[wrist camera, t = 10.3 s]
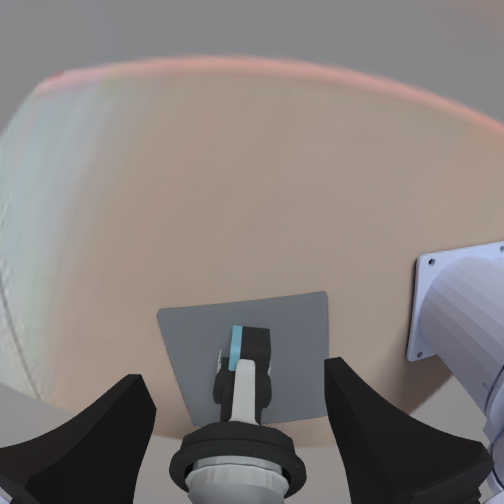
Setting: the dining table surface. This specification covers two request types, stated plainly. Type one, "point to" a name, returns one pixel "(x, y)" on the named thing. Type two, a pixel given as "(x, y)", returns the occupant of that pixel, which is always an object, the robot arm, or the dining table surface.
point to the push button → (240, 435)
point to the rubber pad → (282, 358)
